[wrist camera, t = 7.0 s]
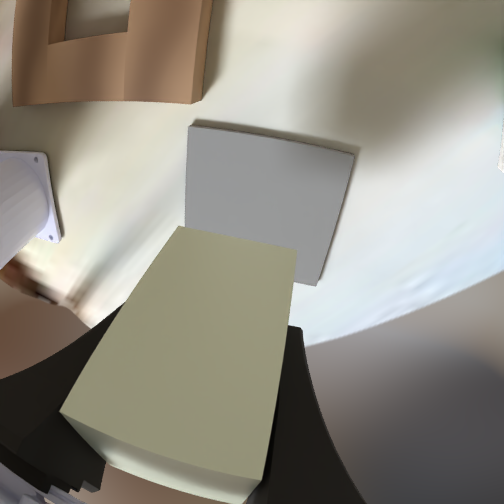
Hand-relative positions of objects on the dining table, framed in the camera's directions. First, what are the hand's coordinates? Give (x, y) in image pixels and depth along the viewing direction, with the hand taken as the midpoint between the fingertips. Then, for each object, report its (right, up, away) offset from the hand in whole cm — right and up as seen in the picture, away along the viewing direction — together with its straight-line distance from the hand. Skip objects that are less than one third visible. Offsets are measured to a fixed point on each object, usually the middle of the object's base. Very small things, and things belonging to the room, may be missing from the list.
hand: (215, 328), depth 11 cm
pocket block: (-7, +18, +1) cm, 19 cm away
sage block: (0, +1, +2) cm, 2 cm away
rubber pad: (+2, +5, +8) cm, 9 cm away
